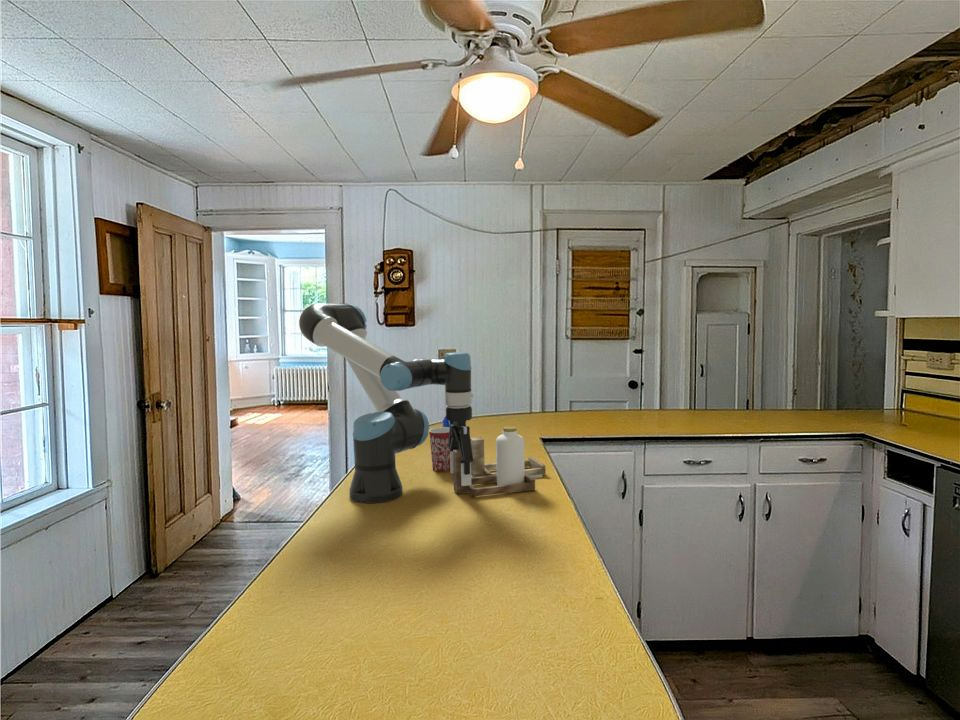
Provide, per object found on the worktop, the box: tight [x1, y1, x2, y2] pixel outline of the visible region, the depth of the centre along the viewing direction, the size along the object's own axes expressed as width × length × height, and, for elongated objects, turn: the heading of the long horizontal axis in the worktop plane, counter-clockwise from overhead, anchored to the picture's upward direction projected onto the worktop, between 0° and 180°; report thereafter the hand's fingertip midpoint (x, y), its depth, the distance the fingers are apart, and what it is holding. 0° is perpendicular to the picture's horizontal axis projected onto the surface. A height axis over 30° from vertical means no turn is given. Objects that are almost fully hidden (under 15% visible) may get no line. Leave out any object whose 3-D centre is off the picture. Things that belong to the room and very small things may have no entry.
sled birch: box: [470, 437, 547, 477], centre depth 183 cm, size 22×12×12 cm, turn 106°
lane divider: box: [530, 474, 544, 479], centre depth 177 cm, size 16×1×1 cm, turn 106°
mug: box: [428, 426, 451, 473], centre depth 192 cm, size 13×9×14 cm
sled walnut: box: [453, 449, 536, 498], centre depth 168 cm, size 22×12×12 cm, turn 106°
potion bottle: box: [495, 426, 526, 486], centre depth 169 cm, size 8×8×18 cm
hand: (460, 478), depth 165 cm, fingers open, 13 cm apart
